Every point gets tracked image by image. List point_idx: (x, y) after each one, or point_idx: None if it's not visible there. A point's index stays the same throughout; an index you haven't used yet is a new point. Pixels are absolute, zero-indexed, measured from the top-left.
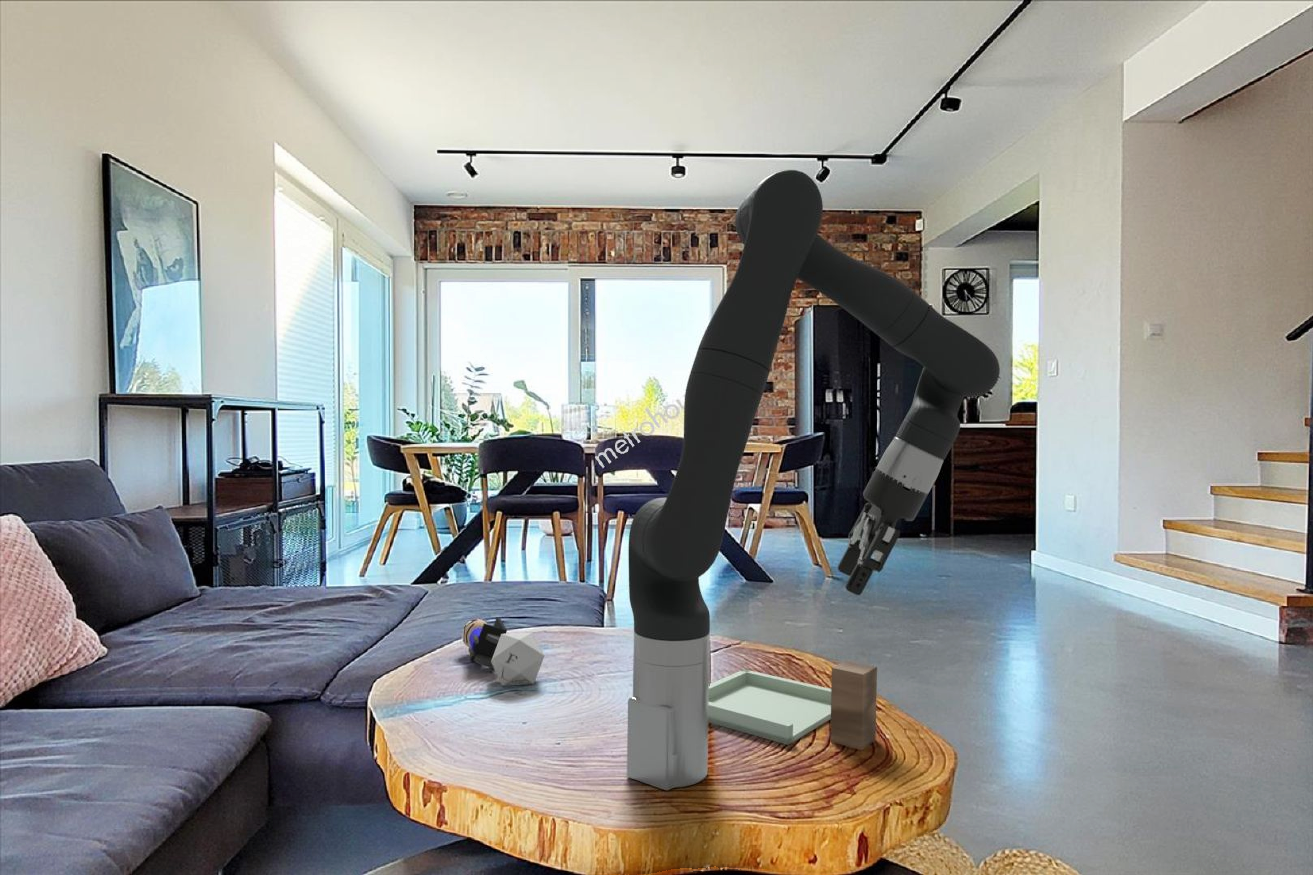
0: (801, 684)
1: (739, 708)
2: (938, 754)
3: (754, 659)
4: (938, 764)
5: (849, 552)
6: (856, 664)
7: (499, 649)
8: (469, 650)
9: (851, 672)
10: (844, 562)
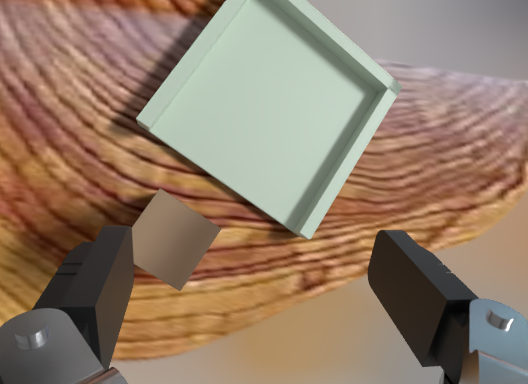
0: (340, 169)
1: (264, 65)
2: (122, 352)
3: (493, 125)
4: None
5: (427, 295)
6: (192, 247)
7: None
8: None
9: (132, 228)
10: (397, 260)
